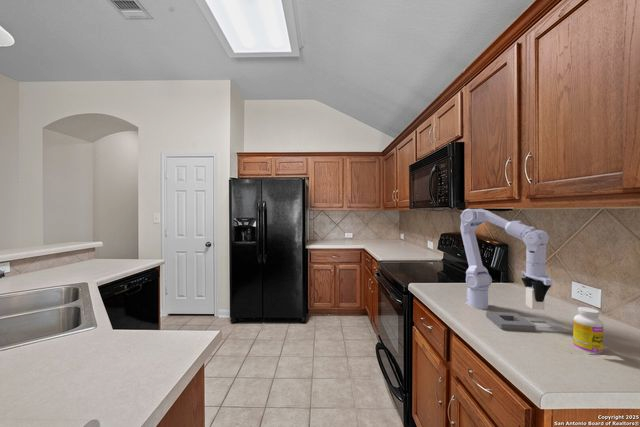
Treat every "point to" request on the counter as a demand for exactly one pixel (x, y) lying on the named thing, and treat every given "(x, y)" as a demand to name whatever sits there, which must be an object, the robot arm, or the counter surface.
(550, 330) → the jack panel
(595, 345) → the supplement bottle
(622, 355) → the counter surface
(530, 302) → the plug block
